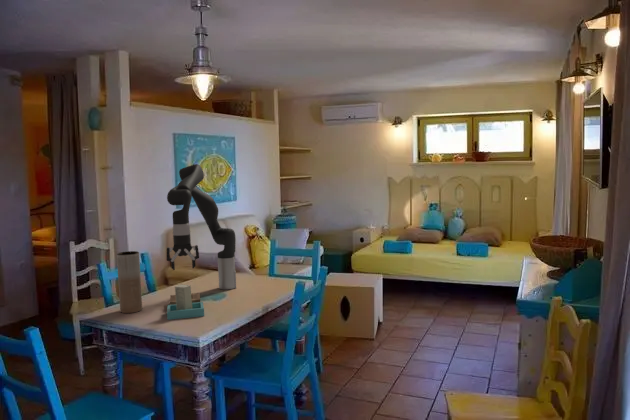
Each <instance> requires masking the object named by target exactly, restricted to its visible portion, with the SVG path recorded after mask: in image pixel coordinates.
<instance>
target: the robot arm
mask: <svg viewBox="0 0 630 420" xmlns="http://www.w3.org/2000/svg"><path fill="white" fill-rule="evenodd" d="M178 174H179V178H180V181H179V182H178V183H177V185H176V186H174V187H173V188H171V189H169V191H168V193H167V195H166V200H167V202H168V204H170V205H171V206H182V208H181V209H177V210H174V211H173V212H172V237H173V238H172V239H173V240H172V241H173V242H172V243H173V246H172V247H170V246H167V247H166V261H168V262H170V264H171V265H170V267H171V269H172V271H175V268H176V267H175V260H176V258H177V257H183V256H184V257H186V256H189V258H190V259H191V265H192V269H195V267H196V265H197V264H196V260H198V259H200V254H199V246H198V245H197V244H196V245H192V244H191V243H192V242H191V228H190V219H189V218H190V217H189V216H190V214H189V213H190V206H191V202H192V199H193V201H194V203H195V205H196V207H197V209H198V211H199V212H200V214H201V215H202V217H203V220H204V221H205V224H206V225H207V227H208V230H209V231H210V234H211V237H212V239H213V241H214V242H215V244H217V245H219V246H223V249H222V250H220V251H218V252H217V272H218V274H217V275H218V288H219V290H233V289H237V275H236V274H237V273H236V272H237V271H236V264H235V263H236V262H235V261H236V260H235V258H236V257H235V253H236V233H235V230H234V229H232V228H224V227H222V226H221V225H220V224H219V221H218V216H219V207H218V205H217V203H216V201H215V200H214V198H213V197H212V196H211V195H209V194H207V193H205V192H204V191H202V190H201V189H200V188H198V187H197V186H198V185H199V183H201V182H202V181H203V180H204V177H205V173H204V170H203V168H202V167H201V165H200V164H199V163H198V164H192V165H188V166H185V167H183V168H180V169H179V172H178ZM192 249H193V250H194V251H195V256H194V255H193V253H191V250H192ZM172 251H173V252H174V254H173V255H172V257H170V254H171V252H172Z"/></svg>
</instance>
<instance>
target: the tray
mask: <svg viewBox="0 0 630 420" xmlns="http://www.w3.org/2000/svg"><path fill="white" fill-rule="evenodd" d="M166 309H167V310H166V312H167V313H166V317H167V318H166V319H167V320H179V319H188V318H196V317H198V318H199V317H205V307H204V302H203V301H200V302H197V303H192V309H186V310H177V307H176V304H175V305H170V304H167V308H166Z"/></svg>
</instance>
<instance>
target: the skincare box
mask: <svg viewBox="0 0 630 420" xmlns="http://www.w3.org/2000/svg"><path fill="white" fill-rule="evenodd" d="M174 292H175V294H174V295H176V307H177V310H186V309H192V297H191V294H192V287H191V285H189V284H178V285H176V286H174Z"/></svg>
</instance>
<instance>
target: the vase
mask: <svg viewBox="0 0 630 420" xmlns="http://www.w3.org/2000/svg"><path fill="white" fill-rule="evenodd" d="M140 261H141V260H140V252H139V251H137V250H134V251H133V250H132V251H122V252H121V251H120V252H118V253H116V264H117V278H118V279H117V280H118V294H119V311H121V312H122V313H121V312H120V313H121V314H135V313H138V311H139V312H140V311H142V310H143V298H142V297H143V296H142V280H141V267H140V266H141V265H140V264H141V262H140Z"/></svg>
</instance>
